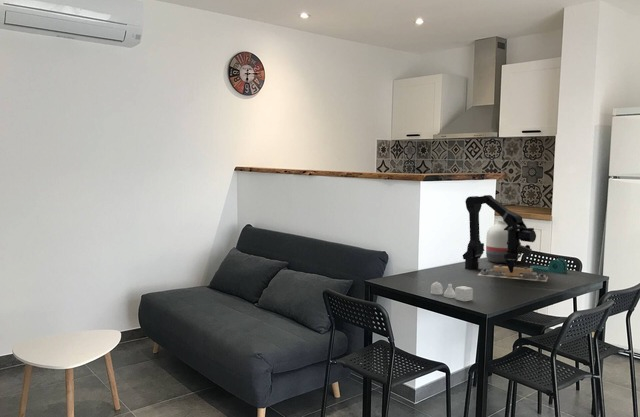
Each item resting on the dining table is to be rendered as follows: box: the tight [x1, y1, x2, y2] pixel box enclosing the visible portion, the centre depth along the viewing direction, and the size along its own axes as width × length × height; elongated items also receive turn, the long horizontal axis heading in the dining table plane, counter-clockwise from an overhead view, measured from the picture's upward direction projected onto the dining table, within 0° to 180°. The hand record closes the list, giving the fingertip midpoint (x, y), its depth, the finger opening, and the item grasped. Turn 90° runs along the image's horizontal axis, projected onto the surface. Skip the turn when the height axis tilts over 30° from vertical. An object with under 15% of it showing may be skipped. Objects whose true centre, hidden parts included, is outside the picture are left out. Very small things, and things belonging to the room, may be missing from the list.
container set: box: [430, 281, 474, 302], centre depth 225 cm, size 20×5×6 cm, turn 35°
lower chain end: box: [480, 268, 504, 276], centre depth 267 cm, size 10×6×2 cm, turn 63°
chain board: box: [477, 271, 549, 282], centre depth 263 cm, size 32×12×1 cm, turn 63°
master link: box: [492, 264, 533, 277], centre depth 262 cm, size 18×4×5 cm, turn 64°
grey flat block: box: [522, 271, 547, 280], centre depth 258 cm, size 10×6×2 cm, turn 63°
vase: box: [485, 220, 508, 264], centre depth 307 cm, size 17×17×24 cm
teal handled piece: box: [529, 258, 568, 275], centre depth 277 cm, size 18×7×8 cm, turn 42°
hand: (512, 271), depth 262 cm, fingers open, 9 cm apart
